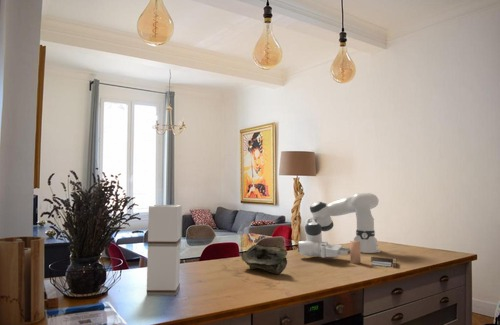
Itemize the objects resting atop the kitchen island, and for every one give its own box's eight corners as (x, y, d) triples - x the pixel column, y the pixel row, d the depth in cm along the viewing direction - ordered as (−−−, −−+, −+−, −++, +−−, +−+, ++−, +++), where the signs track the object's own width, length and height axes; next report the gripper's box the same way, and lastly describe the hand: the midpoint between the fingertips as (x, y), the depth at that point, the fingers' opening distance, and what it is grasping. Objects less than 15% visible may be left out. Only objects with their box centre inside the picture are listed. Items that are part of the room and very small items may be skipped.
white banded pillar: (179, 287, 158) (181, 205, 160) (175, 295, 147) (177, 206, 149) (152, 287, 157) (154, 204, 159) (146, 295, 147) (148, 206, 149)
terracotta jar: (351, 261, 216) (351, 240, 217) (360, 262, 214) (360, 241, 215) (349, 263, 211) (349, 242, 212) (360, 264, 209) (359, 242, 210)
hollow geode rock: (286, 286, 179) (301, 261, 186) (272, 270, 174) (289, 245, 181) (249, 273, 201) (264, 251, 208) (236, 259, 195) (252, 236, 202)
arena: (371, 260, 218) (371, 256, 218) (396, 262, 213) (396, 258, 213) (369, 265, 206) (369, 260, 206) (395, 267, 201) (395, 263, 201)
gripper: (327, 251, 229) (350, 253, 223) (321, 258, 210) (346, 260, 204) (327, 241, 229) (350, 243, 224) (321, 246, 210) (346, 248, 205)
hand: (348, 251), depth 214 cm, fingers open, 8 cm apart
